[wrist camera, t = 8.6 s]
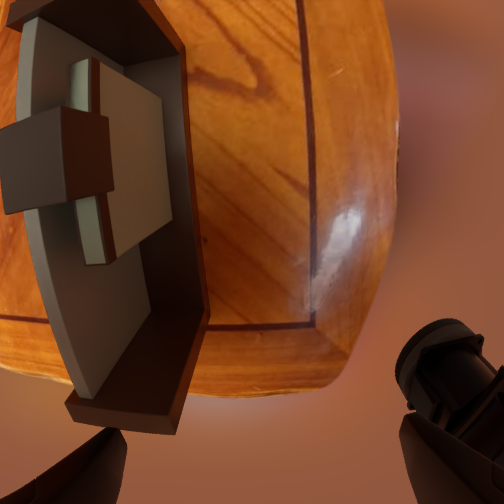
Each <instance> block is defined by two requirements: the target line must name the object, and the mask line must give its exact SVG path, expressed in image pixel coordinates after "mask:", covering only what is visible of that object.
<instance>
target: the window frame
mask: <svg viewBox="0 0 504 504" xmlns="http://www.w3.org/2000/svg"><path fill="white" fill-rule="evenodd" d="M6 27H9V28H11V29H13V30H16V31H18V32H21V33H22V38H21V46H20V54H19V64H18V77H17V97H16V122H18V121H20V120H23V119H25V118H27V117H30V116H32V115H35V114H38V113H40V112H43V111H46V110H48V109H51V108H54V107H57V106H59V105H61V106H66V66H67V64H70V63H73V62H75V61H78V60H81V59H84V58H87V57H90V56H93V57H95V58H96V59H98V60H100V62H101V63H103V64H104V65H106V66H108V67H110V68H111V69H113V70H115V71H117V72H118V73H120V74H122V75H123V76H125V77H127V78H128V79H130V80H132V81H134V82H135V83H137V84H138V85H140V86H142V87H143V88H145V89H147V90H148V91H150V92H152V93H153V94H155V95H156V96H158V97H160V98H161V99H162V110H163V126H164V139H165V151H166V163H167V173H168V183H169V193H170V202H171V210H172V220H171V221H169V222H168V223H167V224H165V225H164V226H162V227H161V228H159V229H158V230H156V231H155V232H153V233H152V234H150V235H149V236H148V237H146V238H145V239H143V240H142V241H140V242H139V243H138V244H136V245H135V246H133V247H132V248H131V249H129V250H128V251H126V252H125V253H124V254H122V255H121V256H119V257H118V258H117V260H115V261H114V262H113V263H111V264H110V265H103V266H87V267H86V266H84V263H83V258H82V253H81V248H80V243H79V238H78V232H77V226H76V220H75V213H74V206H73V201H72V202H68V203H63V204H58V205H52V206H47V207H42V208H37V209H32V210H27V211H23V213H24V219H25V225H26V231H27V236H28V241H29V246H30V251H31V256H32V260H33V265H34V269H35V273H36V277H37V281H38V285H39V289H40V292H41V296H42V299H43V303H44V306H45V309H46V313H47V316H48V319H49V322H50V325H51V328H52V331H53V334H54V337H55V340H56V342H57V345H58V348H59V351H60V353H61V356H62V358H63V361H64V364H65V366H66V369H67V371H68V373H69V376H70V378H71V381H72V383H73V385H74V387H75V389H74V390H73V391H72V393H71V394H70V396H69V397H68V398H67V400H66V401H65V406H66V408H67V409H68V411H69V413H70V415H71V417H72V419H73V421H74V422H78V423H83V424H88V425H94V426H100V427H114V428H118V429H119V430H126V431H134V432H143V433H152V434H164V435H175V434H176V430H177V427H178V424H179V420H180V416H181V413H182V410H183V406H184V403H185V399H186V396H187V393H188V389H189V386H190V382H191V379H192V376H193V372H194V369H195V365H196V362H197V359H198V355H199V352H200V349H201V345H202V342H203V339H204V335H205V332H206V329H207V325H208V322H209V319H210V316H211V314H210V307H209V300H208V293H207V286H206V278H205V271H204V263H203V255H202V247H201V238H200V230H199V221H198V211H197V202H196V192H195V182H194V172H193V160H192V149H191V137H190V123H189V109H188V94H187V77H186V54H185V45H184V44H183V42H182V41H181V39H180V38H179V36H178V35H177V33H176V32H175V30H174V29H173V27H172V26H171V25H170V23H169V22H168V20H167V19H166V17H165V16H164V14H163V13H162V11H161V10H160V9H159V7H158V6H157V4H156V3H155V1H154V0H16V1H15V2H13V3H11V5H10V9H9V13H8V18H7V23H6Z"/></svg>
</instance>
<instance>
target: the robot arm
mask: <svg viewBox="0 0 504 504" xmlns="http://www.w3.org/2000/svg"><path fill="white" fill-rule="evenodd" d="M483 342H484V337H483V336H482V335H481V334H477V335H473V336H469V337H465V338H461V339H457V340H452V341H448V342H444V343H439V344H434V345H430V346H425V347H423V348H422V349H421V350H420V353H419V358H418V362H417V367H416V371H415V373H414V375H413V379H412V383H411V387H410V391H409V395H408V398H409V399H408V402H407V407H408V409H409V410H416V412H413V413H410V414H406V415H405V416H404V418H403V421H402V424H401V427H400V430H399V438H400V442H401V446H402V451H403V455H404V459H405V464H406V469H407V473H408V476H409V479H410V482H411V485H412V488H413V491H414V494H415V496H416V499H417V502H418V504H504V365H502V366H501V367H500V369H499V370H498V372H497V370H495V368H494V367H493V366H492V365H491V364H490V363H489V362H488V361H487V360H486V359H485V358H484V357H483V356H482V355H481V354H480V353H481V349H482V346H483ZM426 352H427V353H426ZM425 353H426V354H425ZM126 454H127V443H126V441H125V439H124V437H123V435H122V433H121V431H120V430H119V429H118V428H114V427H106V428H104V429H103V430H102V431H100V432H99V433H98V434H96V435H95V436H94V437H92V438H91V439H90V440H88V441H87V442H86V443H84V444H83V445H81V446H80V447H79V448H77V449H76V450H75V451H73V452H72V453H70V454H69V455H68V456H67V457H65V458H64V459H62V460H61V461H59V462H58V463H56V464H55V465H54V466H52V467H51V468H49V469H48V470H47V471H45V472H44V473H42V474H41V475H39V476H38V477H37V478H36V479H33V480H32V481H31V482H29V483H28V484H26V485H24V486H23V487H21V488H20V489H18V490H16V491H15V492H13V493H11V494H9V495H7V496H5V497H3V498H1V499H0V504H116V502H117V499H118V495H119V492H120V488H121V483H122V478H123V471H124V466H125V460H126Z"/></svg>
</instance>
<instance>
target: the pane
mask: <svg viewBox="0 0 504 504" xmlns="http://www.w3.org/2000/svg"><path fill="white" fill-rule="evenodd" d="M0 180H1V189H2V198H3V205H4V212H5V215H9V214H14V213H18V212H23V211H27V210H32V209H37V208H42V207H47V206H52V205H58V204H63V203H68V202H72V201H73V206H74V213H75V220H76V226H77V232H78V238H79V243H80V248H81V253H82V258H83V263H84V266H86V267H87V266H103V265H110V264H111V263H113V262H114V261H115V260H117V258H118V257H119V256H121V255H122V254H124V253H125V252H126V251H128V250H129V249H131V248H132V247H133V246H135V245H136V244H138V243H139V242H140V241H142V240H143V239H145V238H146V237H148V236H149V235H150V234H152V233H153V232H155V231H156V230H158V229H159V228H161V227H162V226H164V225H165V224H167V223H168V222H169V221H171V220H172V210H171V202H170V193H169V183H168V173H167V163H166V151H165V139H164V126H163V110H162V99H161V98H160V97H158V96H156V95H155V94H153V93H152V92H150V91H148V90H147V89H145V88H143V87H142V86H140V85H138V84H137V83H135V82H134V81H132V80H130V79H128V78H127V77H125V76H123V75H122V74H120V73H118V72H117V71H115V70H113V69H111V68H110V67H108V66H106V65H104V64H103V63H101V62H100V60H98V59H96V58H95V57H93V56H90V57H87V58H84V59H81V60H78V61H75V62H73V63H70V64H67V66H66V106H61V105H59V106H57V107H54V108H51V109H48V110H46V111H43V112H40V113H38V114H35V115H32V116H30V117H27V118H25V119H23V120H20V121H18V122H16V123H13V124H11V125H9V126H6V127H4V128H2V129H0Z"/></svg>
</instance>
